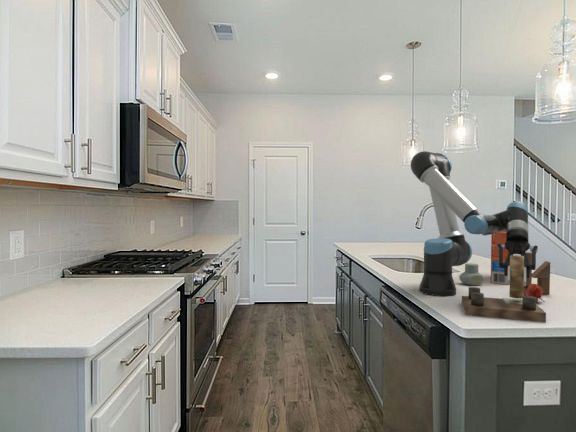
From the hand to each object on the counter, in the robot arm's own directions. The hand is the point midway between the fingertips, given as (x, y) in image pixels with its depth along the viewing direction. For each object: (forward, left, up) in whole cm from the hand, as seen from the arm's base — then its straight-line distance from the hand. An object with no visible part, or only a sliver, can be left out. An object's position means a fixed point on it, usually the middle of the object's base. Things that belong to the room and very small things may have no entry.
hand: (516, 283), depth 142 cm
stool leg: (+1, +4, -6) cm, 7 cm away
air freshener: (-10, +52, -11) cm, 54 cm away
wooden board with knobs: (-5, -1, -11) cm, 12 cm away
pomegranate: (+10, +22, -11) cm, 26 cm away
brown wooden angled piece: (+14, +39, -11) cm, 43 cm away
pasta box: (+6, +69, -11) cm, 70 cm away
